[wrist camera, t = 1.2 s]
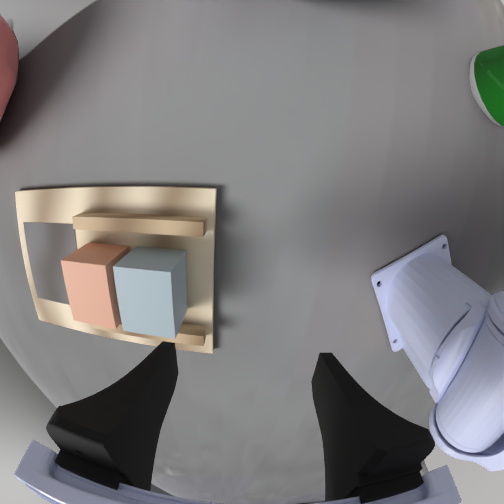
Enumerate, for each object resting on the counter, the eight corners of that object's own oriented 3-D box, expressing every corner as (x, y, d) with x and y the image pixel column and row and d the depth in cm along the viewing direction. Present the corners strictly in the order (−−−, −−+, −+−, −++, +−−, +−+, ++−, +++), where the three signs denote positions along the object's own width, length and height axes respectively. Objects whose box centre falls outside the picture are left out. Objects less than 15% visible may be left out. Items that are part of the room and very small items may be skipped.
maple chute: (216, 188, 19) (212, 192, 17) (213, 349, 24) (210, 364, 22) (19, 190, 19) (5, 194, 17) (42, 317, 24) (32, 326, 22)
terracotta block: (129, 245, 20) (105, 265, 16) (135, 302, 22) (116, 329, 18) (88, 242, 20) (60, 260, 16) (96, 296, 22) (73, 320, 18)
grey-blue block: (186, 250, 20) (170, 272, 16) (187, 309, 22) (175, 338, 18) (136, 246, 20) (113, 266, 16) (141, 303, 22) (123, 330, 18)
